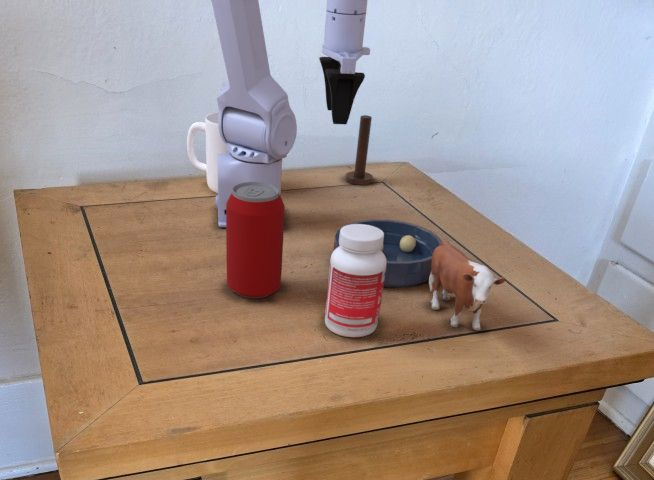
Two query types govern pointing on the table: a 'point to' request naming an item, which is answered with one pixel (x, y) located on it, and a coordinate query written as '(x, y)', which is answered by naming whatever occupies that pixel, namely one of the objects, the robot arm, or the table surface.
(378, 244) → the pill bottle
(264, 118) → the robot arm
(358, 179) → the brown peg stand
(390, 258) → the bowl
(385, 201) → the table surface
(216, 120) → the cup
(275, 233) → the beverage can
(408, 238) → the bead
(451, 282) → the bull figurine
